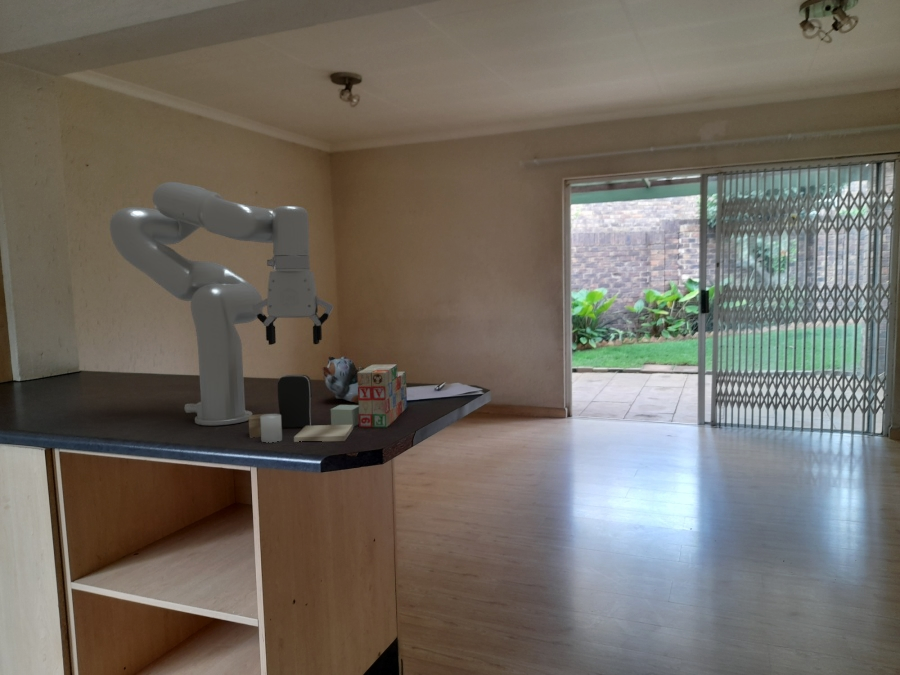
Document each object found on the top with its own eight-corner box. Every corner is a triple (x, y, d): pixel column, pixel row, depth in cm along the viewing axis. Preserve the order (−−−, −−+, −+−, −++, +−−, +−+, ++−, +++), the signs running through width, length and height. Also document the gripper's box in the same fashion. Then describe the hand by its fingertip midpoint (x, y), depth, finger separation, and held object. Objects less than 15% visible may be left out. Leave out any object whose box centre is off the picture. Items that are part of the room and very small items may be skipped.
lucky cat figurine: (370, 404, 158) (342, 359, 155) (333, 420, 162) (305, 376, 159) (387, 379, 172) (362, 337, 168) (353, 394, 176) (327, 353, 173)
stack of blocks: (383, 408, 154) (381, 359, 153) (407, 408, 153) (406, 359, 152) (358, 427, 133) (356, 371, 132) (387, 428, 132) (385, 371, 131)
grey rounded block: (258, 443, 121) (257, 418, 121) (264, 438, 125) (263, 413, 125) (279, 442, 121) (277, 417, 121) (284, 437, 125) (283, 413, 125)
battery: (314, 424, 137) (312, 373, 136) (310, 428, 133) (308, 375, 132) (283, 424, 137) (281, 374, 136) (278, 428, 133) (276, 376, 132)
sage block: (331, 427, 134) (330, 409, 134) (340, 422, 139) (339, 404, 139) (352, 427, 133) (352, 409, 133) (361, 422, 138) (360, 405, 138)
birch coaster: (294, 442, 121) (293, 437, 121) (306, 430, 131) (305, 425, 131) (344, 440, 121) (344, 435, 121) (352, 429, 131) (352, 424, 131)
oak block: (249, 438, 126) (249, 419, 125) (249, 434, 129) (248, 415, 129) (270, 436, 127) (269, 417, 127) (269, 432, 131) (268, 413, 130)
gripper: (246, 264, 129) (249, 346, 130) (328, 264, 129) (330, 345, 130) (256, 265, 136) (259, 342, 138) (335, 265, 136) (337, 341, 138)
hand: (294, 343), depth 134 cm, fingers open, 9 cm apart
